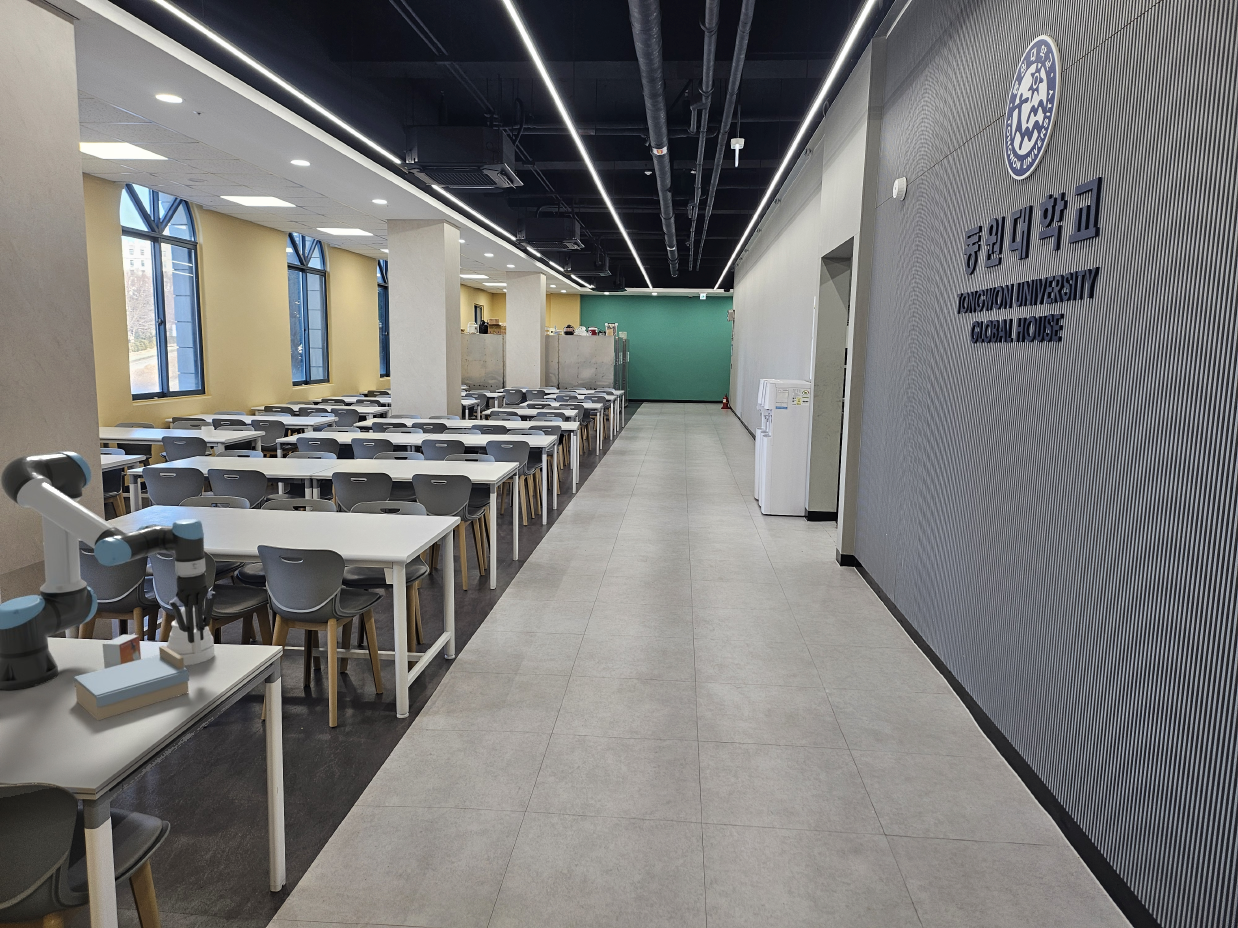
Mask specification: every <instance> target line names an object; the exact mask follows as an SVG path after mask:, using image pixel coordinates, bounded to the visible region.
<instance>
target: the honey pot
mask: <svg viewBox="0 0 1238 928" xmlns="http://www.w3.org/2000/svg"><path fill="white" fill-rule="evenodd" d="M180 610H181V613H182V616H183V619H184V621H185V624H186V617H185V608H184V607H182V608H181V609H180ZM193 620H194V629H197V628H196V622H195V609H194V605H193ZM170 625H171V627H172V628H171V631H170V633H169V637H168V640H167V643H166V647H167V648H169V649H170V650H172V651H173V652H175V653H177V654H178V655H180V656H181V657H183V661H184V666H189V665H188V664H192V665H195V663H197V664H200V662H201V663H204V662H206V661H209V660H210V659H212V658H214V656H215V644H214V643H215V642H214V637H213V635H212V634H211V631H210V628H209V626H207V627H205V629H204V630H203V636H204V639H203V640H201V653H198V654H195V653H193V652H192V643H189V642H188V635H187V632H183V631H181V630H180V629H179V626H178V623H177V621H176V619H175V620H173V621H172V622H171V624H170Z"/></svg>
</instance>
